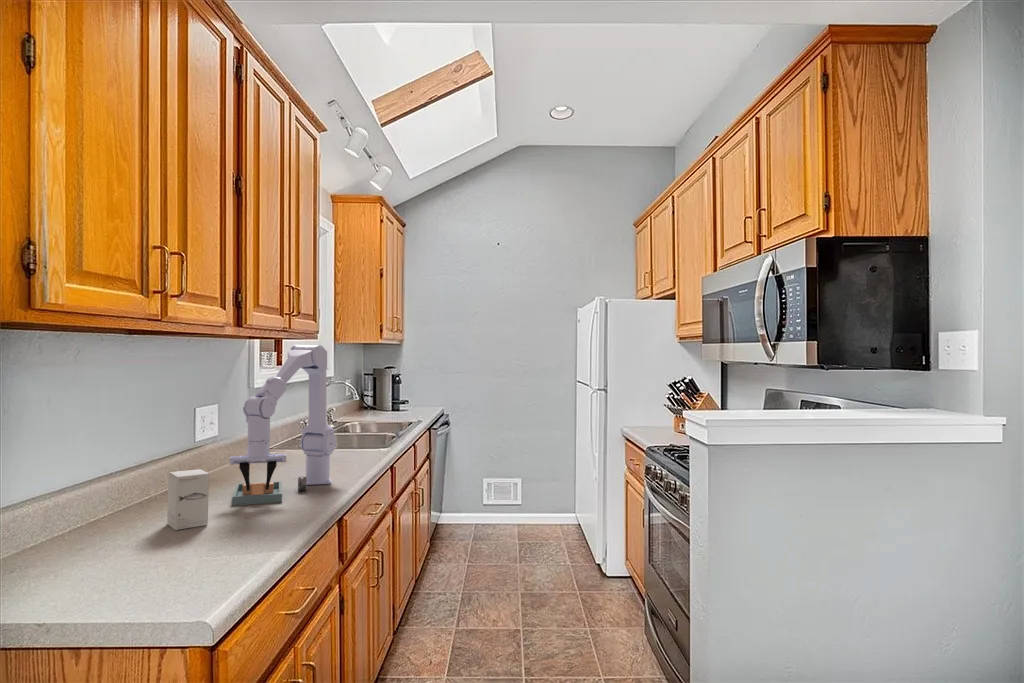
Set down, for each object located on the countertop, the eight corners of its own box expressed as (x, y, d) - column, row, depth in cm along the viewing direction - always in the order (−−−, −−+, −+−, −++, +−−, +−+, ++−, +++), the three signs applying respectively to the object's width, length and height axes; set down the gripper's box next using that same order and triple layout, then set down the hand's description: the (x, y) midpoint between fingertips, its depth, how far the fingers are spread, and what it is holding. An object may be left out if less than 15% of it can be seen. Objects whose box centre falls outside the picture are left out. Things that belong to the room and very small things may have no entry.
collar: (243, 492, 183) (244, 482, 184) (273, 491, 186) (273, 480, 187) (241, 495, 172) (241, 484, 173) (273, 493, 175) (273, 482, 176)
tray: (236, 491, 187) (236, 483, 187) (281, 489, 191) (281, 481, 191) (232, 505, 171) (232, 496, 171) (281, 502, 176) (282, 493, 176)
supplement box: (174, 531, 147) (175, 476, 147) (166, 524, 153) (167, 471, 153) (208, 525, 152) (209, 472, 152) (199, 519, 158) (200, 468, 158)
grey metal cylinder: (297, 490, 190) (297, 476, 190) (306, 489, 191) (306, 476, 191) (297, 492, 188) (298, 478, 188) (306, 491, 188) (306, 478, 188)
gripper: (229, 443, 169) (228, 494, 169) (286, 441, 174) (285, 490, 174) (230, 439, 176) (229, 488, 176) (286, 437, 181) (285, 485, 181)
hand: (257, 489), depth 176 cm, fingers open, 4 cm apart
